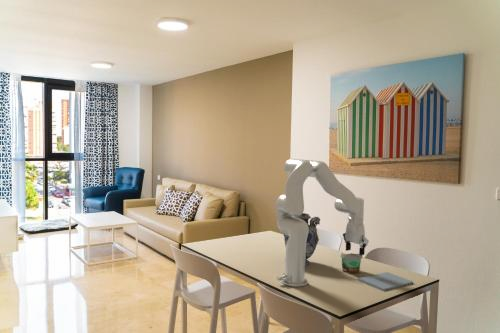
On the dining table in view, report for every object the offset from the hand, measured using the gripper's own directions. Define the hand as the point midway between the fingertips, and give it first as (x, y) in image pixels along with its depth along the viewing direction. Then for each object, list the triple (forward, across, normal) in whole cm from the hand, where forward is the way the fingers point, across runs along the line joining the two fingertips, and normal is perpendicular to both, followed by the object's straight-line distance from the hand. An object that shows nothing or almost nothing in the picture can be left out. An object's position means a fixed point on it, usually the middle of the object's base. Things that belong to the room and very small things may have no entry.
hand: (354, 252), depth 214 cm
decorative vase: (+10, -26, -16) cm, 32 cm away
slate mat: (+11, +18, +3) cm, 21 cm away
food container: (+11, 0, -1) cm, 11 cm away
